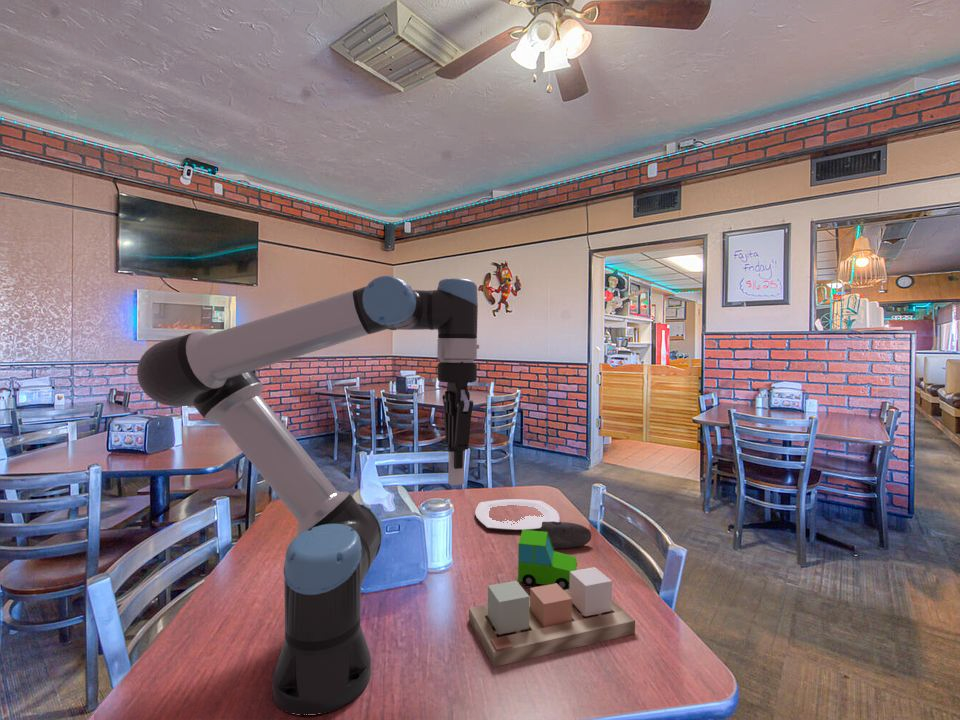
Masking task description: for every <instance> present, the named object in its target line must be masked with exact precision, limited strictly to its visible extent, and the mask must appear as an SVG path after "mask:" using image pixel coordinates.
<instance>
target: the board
mask: <svg viewBox="0 0 960 720" xmlns="http://www.w3.org/2000/svg"><path fill="white" fill-rule="evenodd" d="M564 591H565V592H566V593H567V594H568V595H569V593H570V588H568V589H566V590H564ZM578 610H579V609H578V608H577V607H576V606H575V605H574V604H573V603H572V622H568V623H563V624H559V625H554V626H549V627H545V628H542V627H541V625H540V624H539V623H538V622H537V620H536V619H535V618H534V616H533V615H532V614H531V613H530V597H529V629H524V630H522V631H523V632H522V631H521V632H517V633H513V634H509V635H508V634H507V635H502V636H501V635H500V636H498V637H497V635H496V633H495V632H494V630H493V628H495V627H494V626H493V624H492V623H491V621H490V619H489V618H488V603H487V604H481V605H477V606H471V607H468V621H469V623H470V625H471V626H472V628H473V631H474V632H475V634H476V636H477V638H478V640H479V642H480V644H481V646H482V648H483V649H484V651H485V653H486V655H487V657H488V658H489V661H490V662H491V665H492V667H495V668H496V667H499V666H502V665H508V664H511V663H515V662H516V663H517V662H519V661H526V660H529V659H533V658H537V657H542V656H546V655H550V654H554V653H558V652H563V651H566V650H570V649H576V648H578V647H579V648H580V647H583V646H587V645H588V646H589V645H592V644H596V643H600V642H605V641H609V640H612V639H618V638H621V637H627V636H630V635H634V634H636V619H634V618H633V617H632V616H630V614H629V613H627V612H626V611H625V610H624V608H623V609H622V607H620V606H619V605H618V604H617V602H614V601H613V600H612V611H609V612H604V613H602V614H601V615H598V616H592V617H591V616H590V617H587V618H584V617H583V616H582V615H581V614H580V613H579V611H578Z"/></svg>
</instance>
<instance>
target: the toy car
mask: <svg viewBox="0 0 960 720" xmlns="http://www.w3.org/2000/svg"><path fill="white" fill-rule="evenodd" d="M517 556H518V559H517V560H518V563H517V567H518V568H517V569H518V571H517V574H518V575H517V579H518V580H517V582H518V583H519V582H521V583H523V586H525V587H527V588H533V587H535V585H536V584H539V585H550V584H555V583H557V584H558V585H559V586H560V587H561V588H562V589H563V590H566V589H569V588H570V571H575V570H578V569H577V568H578V560H577V557H576V556H575V555H570V554H566V553H563V552H559V551H556V550H555V548H554V547H553V546H552V543H551V541H550V538H549V535H548V532H543V531H540V530H521V534H520V537H519V540H518V555H517Z"/></svg>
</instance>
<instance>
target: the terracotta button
mask: <svg viewBox="0 0 960 720" xmlns="http://www.w3.org/2000/svg"><path fill="white" fill-rule="evenodd" d="M529 596H530V613H531V614H532V615H533V616H534V618H535V619H536V620H537V622H538V623H539V624H540V625H541V627H542V628H545V627H549V626H554V625H559V624H563V623H568V622H572V598H571V597H570V596H569V595H568V594H567V593H566V592H565V591H564V590H563V589H562V588H561V587H560V586H559V585H558V584H557V583H555V584H550V585H545V584H543V585H540V586H533V587H529Z"/></svg>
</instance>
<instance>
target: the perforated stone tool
mask: <svg viewBox="0 0 960 720" xmlns="http://www.w3.org/2000/svg"><path fill="white" fill-rule="evenodd" d="M539 531H543V532H548V535H549V538H550V541H551V543H552V546H553V547H554V549H556V550H557V549H570V548H579V547H583V546H585V545H587V544H588V543H589V542H590V541H591V539H592V532H591V530H590V529H589V528H588V527H586V526H584V525H581V524H578V523H573V522H566V521H560V522H542V527H541V528H540V529H539Z"/></svg>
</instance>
